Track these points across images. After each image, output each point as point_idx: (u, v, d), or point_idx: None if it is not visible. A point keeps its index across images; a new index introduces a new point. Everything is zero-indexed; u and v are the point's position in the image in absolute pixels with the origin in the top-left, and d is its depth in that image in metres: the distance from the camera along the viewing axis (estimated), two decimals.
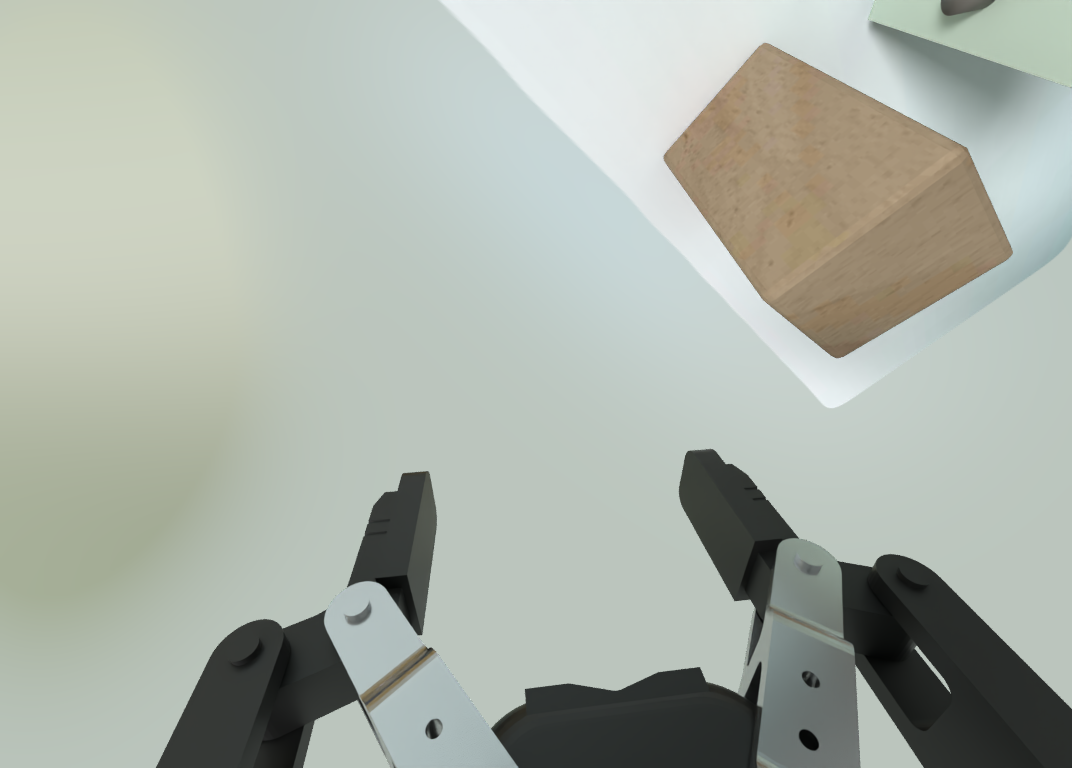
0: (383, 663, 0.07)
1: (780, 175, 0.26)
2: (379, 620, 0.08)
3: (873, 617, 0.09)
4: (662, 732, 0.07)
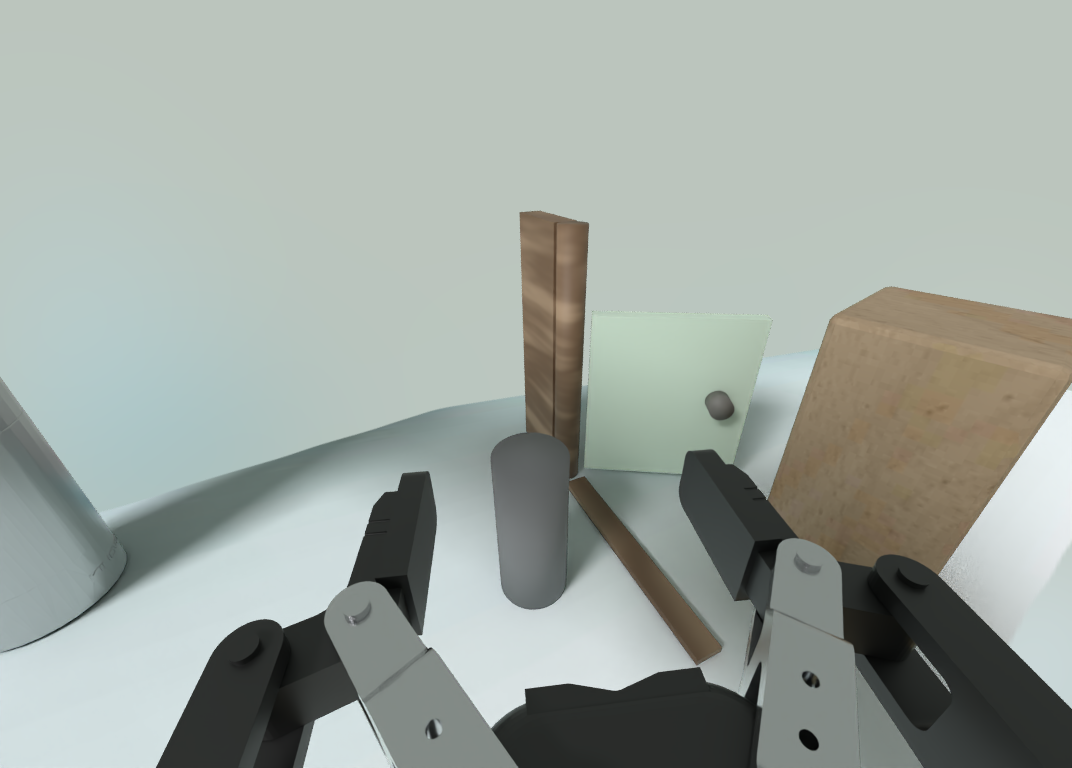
0: (383, 663, 0.07)
1: (886, 450, 0.25)
2: (379, 620, 0.08)
3: (873, 617, 0.09)
4: (662, 732, 0.07)
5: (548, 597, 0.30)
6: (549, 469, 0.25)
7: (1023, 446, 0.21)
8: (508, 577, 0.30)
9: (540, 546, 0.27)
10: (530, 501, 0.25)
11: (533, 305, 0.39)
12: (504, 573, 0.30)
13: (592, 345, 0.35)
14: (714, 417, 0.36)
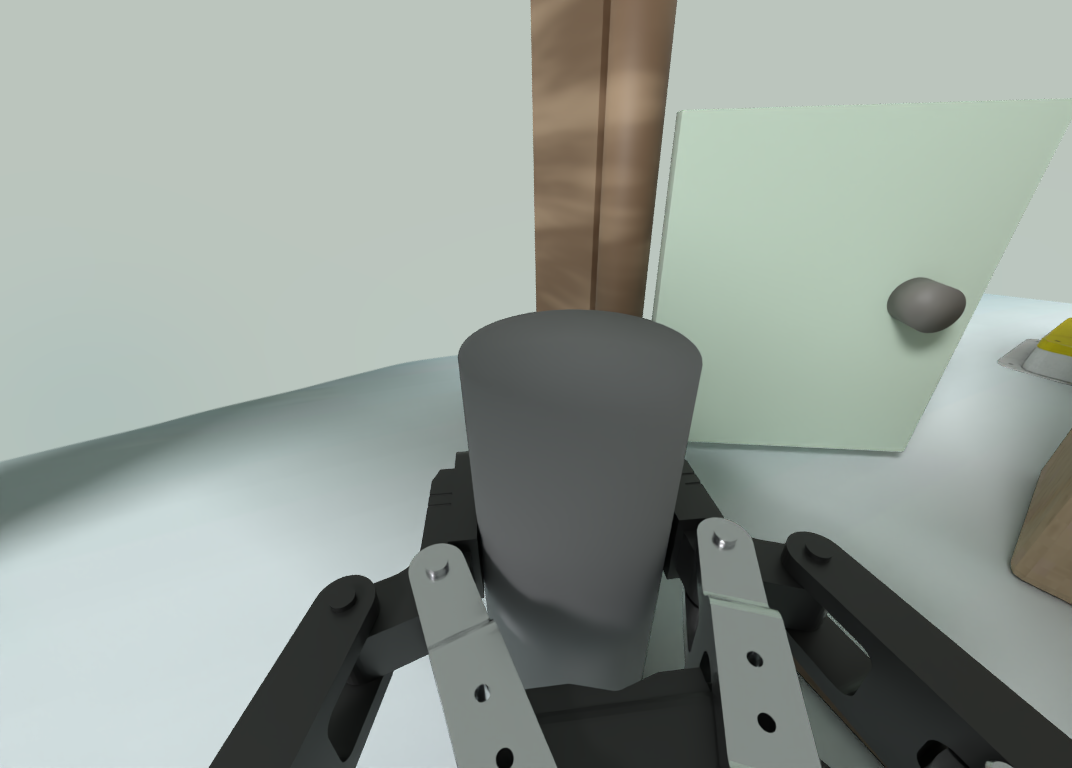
0: (450, 620, 0.08)
1: None
2: (459, 576, 0.09)
3: (781, 589, 0.09)
4: (662, 732, 0.07)
5: None
6: (648, 376, 0.08)
7: None
8: None
9: (606, 616, 0.09)
10: (586, 481, 0.07)
11: (554, 140, 0.22)
12: None
13: (677, 183, 0.18)
14: (918, 327, 0.18)
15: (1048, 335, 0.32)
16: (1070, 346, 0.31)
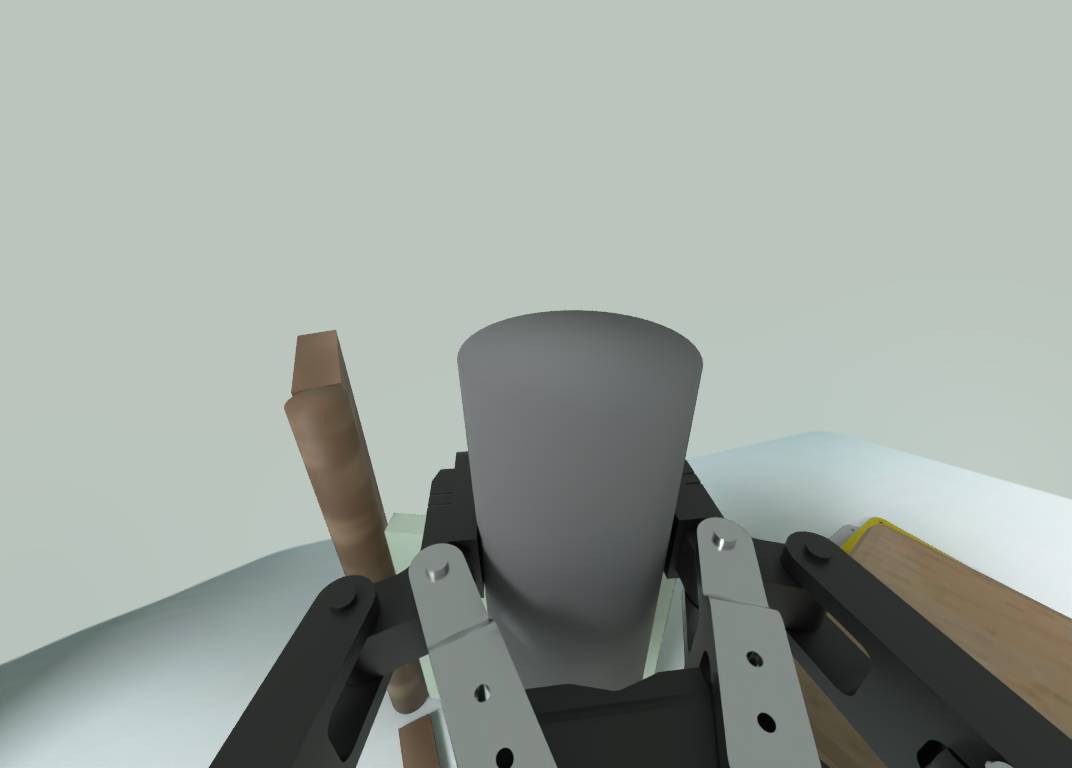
0: (450, 621, 0.08)
1: None
2: (459, 576, 0.09)
3: (781, 589, 0.09)
4: (662, 732, 0.07)
5: None
6: (648, 377, 0.08)
7: None
8: None
9: (606, 619, 0.09)
10: (586, 483, 0.07)
11: None
12: None
13: (397, 567, 0.22)
14: None
15: None
16: None
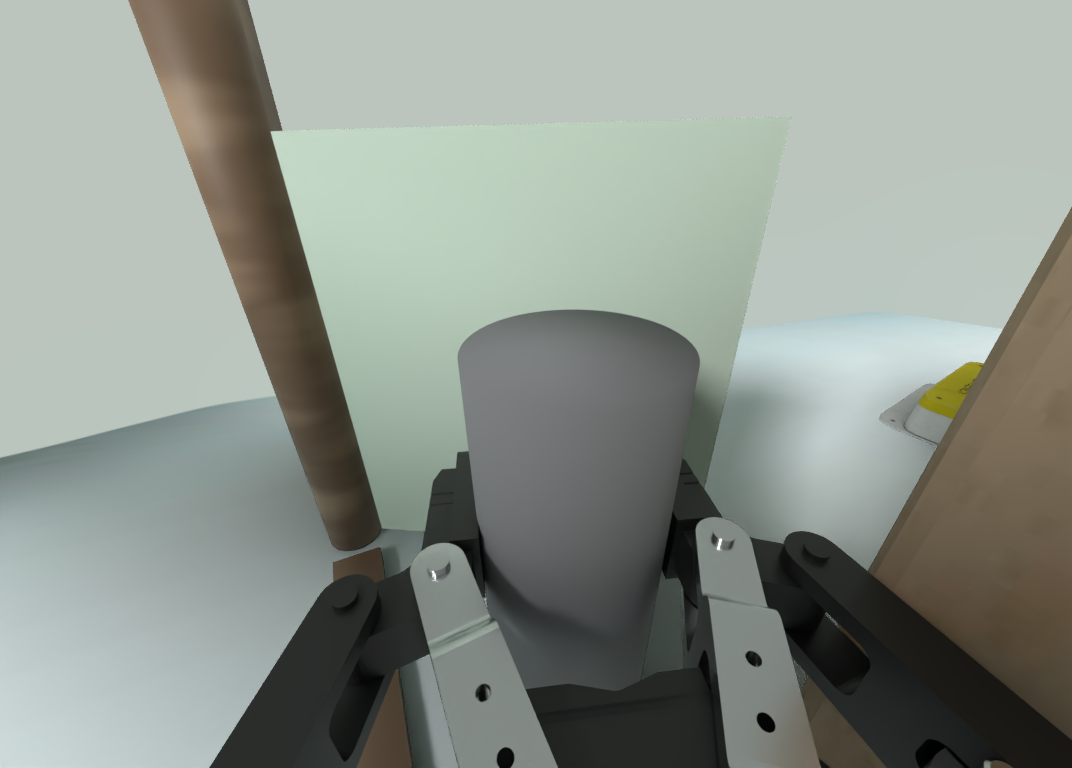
0: (451, 620, 0.08)
1: None
2: (461, 575, 0.09)
3: (779, 589, 0.09)
4: (662, 732, 0.07)
5: None
6: (645, 375, 0.08)
7: None
8: None
9: (605, 614, 0.09)
10: (584, 478, 0.07)
11: None
12: None
13: (302, 228, 0.13)
14: None
15: (932, 389, 0.27)
16: (951, 406, 0.25)
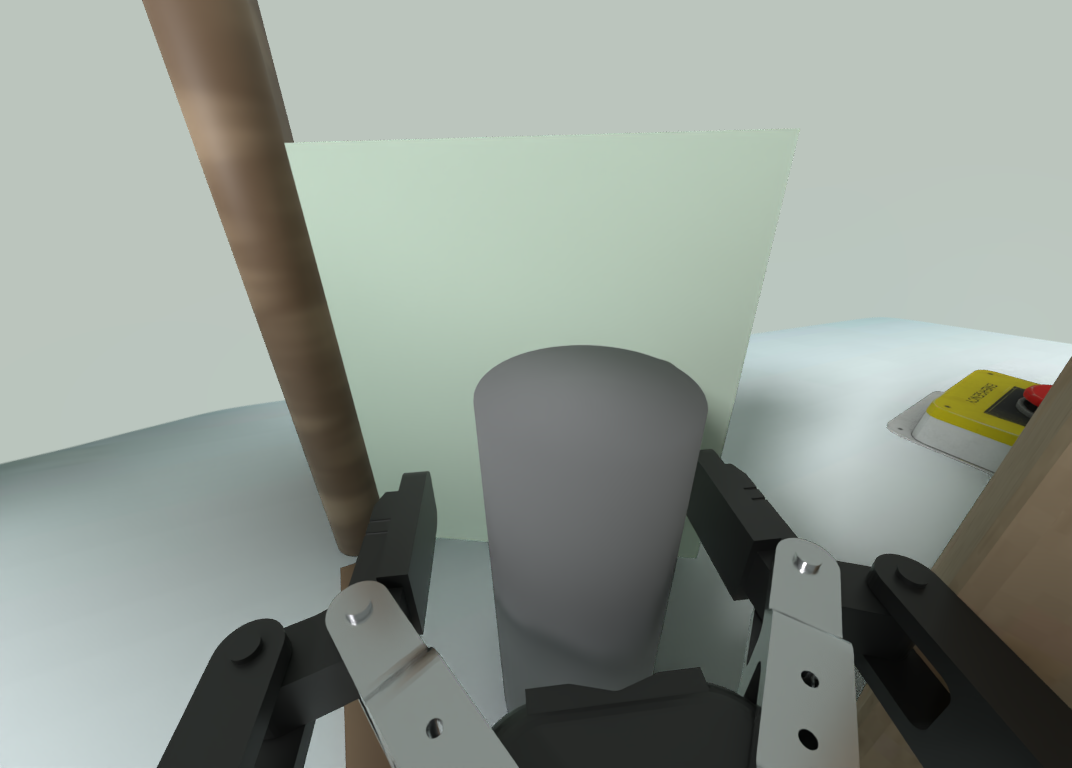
0: (384, 662, 0.07)
1: None
2: (380, 619, 0.08)
3: (872, 616, 0.09)
4: (662, 732, 0.07)
5: None
6: (655, 423, 0.08)
7: None
8: (520, 701, 0.12)
9: (614, 646, 0.10)
10: (597, 525, 0.08)
11: None
12: (512, 688, 0.13)
13: (314, 238, 0.13)
14: None
15: (940, 397, 0.26)
16: (959, 415, 0.25)
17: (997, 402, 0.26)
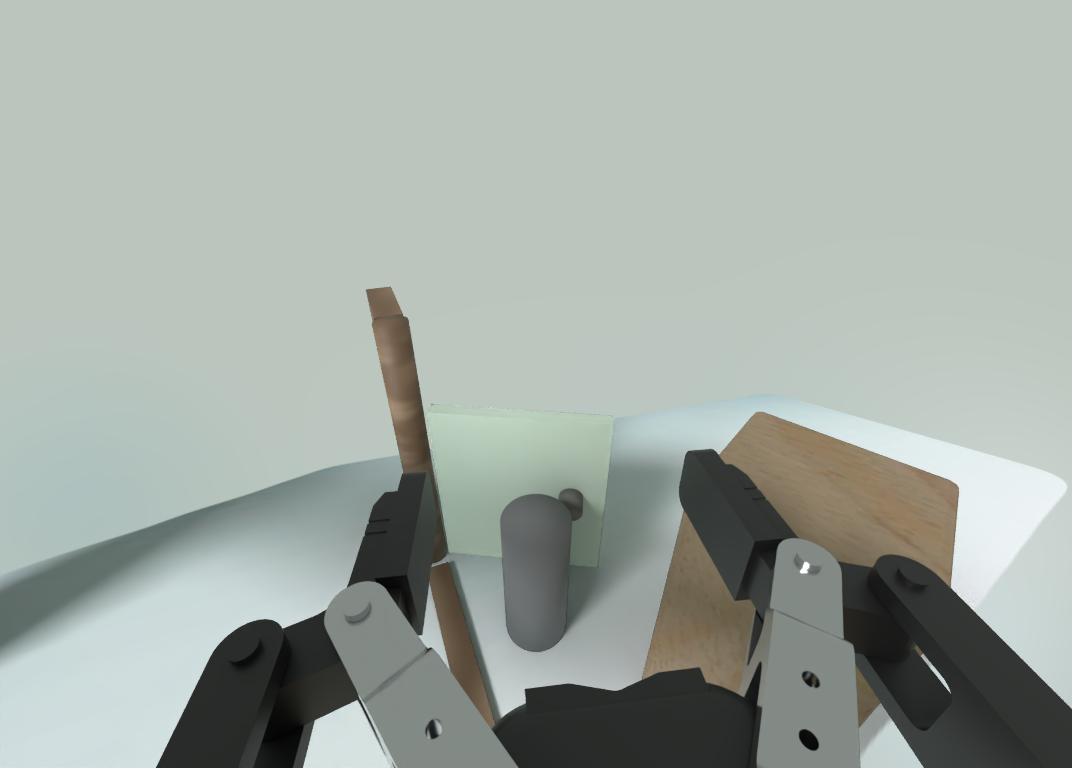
0: (383, 663, 0.07)
1: None
2: (379, 620, 0.08)
3: (873, 617, 0.09)
4: (662, 732, 0.07)
5: (549, 641, 0.33)
6: (553, 535, 0.28)
7: None
8: (513, 623, 0.32)
9: (544, 600, 0.30)
10: (535, 564, 0.28)
11: None
12: (509, 619, 0.33)
13: (432, 440, 0.33)
14: None
15: None
16: None
17: None
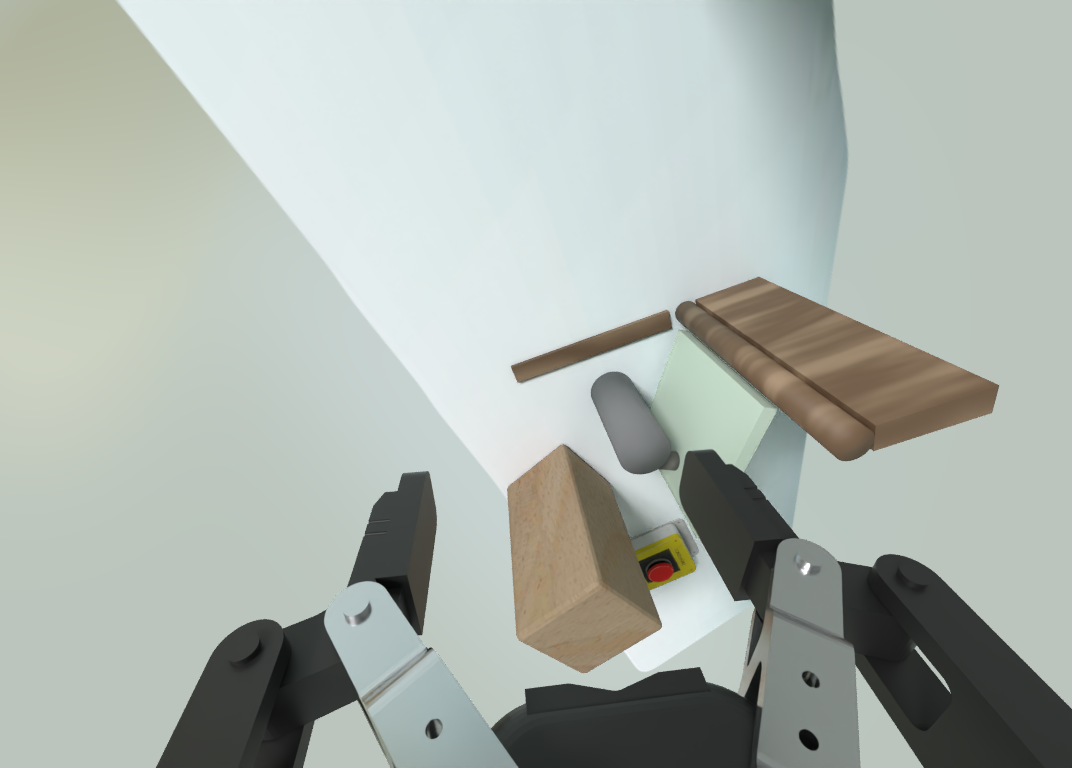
0: (383, 663, 0.07)
1: (544, 547, 0.43)
2: (379, 620, 0.08)
3: (873, 617, 0.09)
4: (662, 732, 0.07)
5: None
6: (628, 463, 0.40)
7: (514, 598, 0.41)
8: (604, 387, 0.46)
9: (604, 425, 0.44)
10: (615, 443, 0.40)
11: (847, 346, 0.31)
12: (608, 385, 0.46)
13: (744, 391, 0.34)
14: None
15: (682, 543, 0.60)
16: (669, 540, 0.60)
17: (672, 556, 0.61)
